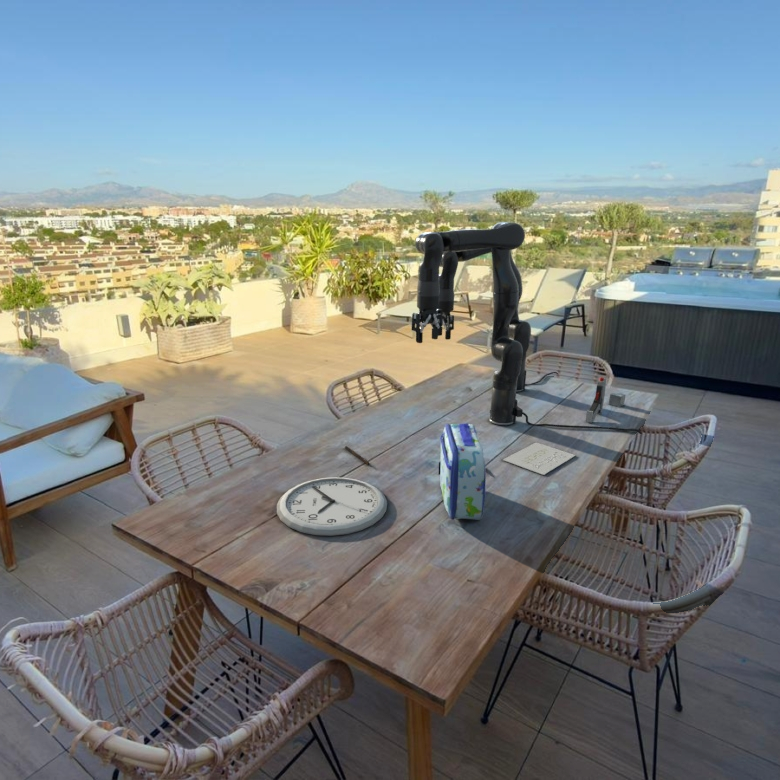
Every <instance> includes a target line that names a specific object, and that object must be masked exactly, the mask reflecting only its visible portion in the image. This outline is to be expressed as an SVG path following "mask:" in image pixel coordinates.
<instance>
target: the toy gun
mask: <svg viewBox="0 0 780 780" xmlns="http://www.w3.org/2000/svg"><path fill="white" fill-rule="evenodd" d="M606 383H607V378H606V377H604V376H599V377H598V380H597V384H596V387H595V397H594V399H593V400H592V403H591V405H590V407H589V409H588V410H586V414H585V422H586V423H590V424H592V423H593V422H594V421H595V419H596V417H597V416H598V415H602V412H603V407H604V401H605V395H606V385H607V384H606Z"/></svg>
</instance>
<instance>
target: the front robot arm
mask: <svg viewBox="0 0 780 780" xmlns="http://www.w3.org/2000/svg"><path fill="white" fill-rule="evenodd" d="M525 238H526V231H525V229H524V227H523V226H522V225H521V224H519V223H517V222H509V221H508V222H505V221H504V222H502V221H501V222H497V223H496V224H494V226H492V228H488V229H487V228H486V229H485V228H484V229H482V228H481V229H471V228H469V229H468V228H467V229H456V230H455V229H454V230H448V231H427V232H422V233H420V234H419V235H418V236H417V237H416V239H415V241H414V247H415V249H416V250H417V252H419V253H420V254H422V255H423V261H422V262H420V263H419V265H418V271H417V272H418V273H417V287H416V307H417V309H418V312H413V313H412V315H411V331H413V332H415V342H416V343H417V344H422V343H423V342H424V341H423V340H424V339H423V337H424V336H423V334H424V329H425V328H427V326H428V325H430V326H431V339H432V340H438V338H439V336H438V329H439V327H440V326H441V327H443V326H442V325H443V310H442V309H437V308H439V289H440V287H439V274H440V264H441V260H442V256H443V252H459V251H468V250H475V249H483V248H491V252H490V253H491V260H492V261H491V262H492V333H491V344H490V352H491V353H490V354H491V356H492V358H493V359H494V360H495V361H498V362H501V367H500V369H497V370H495V371H494V372H493V374H492V388H491V399H490V409H489V414H490V415H489V422H490V423H491V424H494V425H497V426H511V425H513V424H516V423H517V418H521V417H522V418H523V416H524V418H525V422H526V424H527V425H529V426H534V427H554V428H555V427H556V428H568V429H569V428H572V429H596V430H610V431H611V430H613V431H622V432H637V433H638V434H640V435H643V433H642V431H641V430H639V429H637V428H621V427H610V426H597V425H596V426H594V425H593V426H592V425H571V424H570V425H567V424H551V423H531V422H530V421H529V416H528V414H527V413H525V412H524V410H523V409H522V408H521V407H520V406H518V399H517V392H516V389H517V379H518V376H519V374H520V370H521V363H522V357H523V348H522V345H521V344H520V343H519V342H518V341H515V340H514V339H512V338H509V325H510V321H511V319H512V317H513V315H514V313H515V311H516V309H517V306H518V307H519V304H518V293H519V289H518V283H517V280H516V277H515V274H514V272H513V270H512V267H511V263H510V250H511V251H512V250H516V249H518V248H520V247H521V246H522V245H523V244H524V241H525ZM438 319H439V320H440V322H438Z"/></svg>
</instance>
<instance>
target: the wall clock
mask: <svg viewBox="0 0 780 780" xmlns="http://www.w3.org/2000/svg"><path fill="white" fill-rule="evenodd" d="M387 509H388V500H387V498H386V496H385V494H384V493H383V492H382V491H381V490H380V489H379V488H377V487H376V486H374V485H372V484H371V483H369V482H365V481H362V480H359V479H355V478H349V477H338V476H337V477H335V476H333V477H332V476H331V477H322V478H317V479H312V480H307V481H305V482H302V483H299V484H297V485H295V486H293V487H292V488H290V489H288V490H287V491H286V492H285V493H284V494H283V495H281V496H280V498H279V499H278V502H277V503H276V515H277V517H278V518H279V520H280V521H281V522H282V523H283V524H285V525H286V526H287V527H288V528H290V529H293V530H295V531H297V532H299V533H303V534H308V535H312V536H327V537H328V536H329V537H331V536H332V537H333V536H342V535H350V534H352V533H356V532H361V531H363V530H366V529H368V528H369V527H372V526H373V525H375V524H376V523H378V522H379V521H380V520H381V519H382V518H383V517H384V516H385V514H386V512H387Z"/></svg>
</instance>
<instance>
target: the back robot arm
mask: <svg viewBox="0 0 780 780" xmlns="http://www.w3.org/2000/svg"><path fill="white" fill-rule="evenodd" d="M490 253H491V248H483V249H475V250H468V251H459V252H443V256H442V260H441V264H440V267H441V268H442V270H441V273H439V287H440V289H439V308H437V309H442V310H443V325H442V326H440V327H439V329H438V337H439V336H443V327H444V330H445V333H444V339H445V340H447V341H448V340H451V339H452V331H454V330H455V315H453V314H451V312H453V311H454V309H455V308H454V307H455V277H456V274H457V270H458V266H459V263H461V262H462V263H463V262H467V261H471V260H473V259H475V258H478V257H481V256H484V255H487V254H490ZM510 263H511V267H512V270H513V272H514V274H515V277H516V280H517V283H518V289H519V293H518V306H517V309H516V311H515V313H514V315H513V317H512V319H511V321H510V325H509V339H512V340H515V341H518V342H519V343H520V344H521V345H522V348H523V357H522V363H521V370H520V374H519V376H518V379H517V389H516V393H519V392H523V391H525V389H526V386H533V385H536V384H538V383H540V382H542V381H543V380H544V379H545V378H546V377H547V376H550V375H553V374H556V375H559V373H558V372H557V371H550V372H549V373H546V374H544V375H543V376H542V377H541V378H540V379H539V380H538V381H534V382H532V383H528V384H527V383H526V380H527V369H526V362H527V352H528V350H529V348H530V342H531V333H532V327H531V324H530V323H529V322H528V321H526V320H522V319H520V317H519V308H518V307H519V304H520V300H521V298H522V295H523V279H522V275H521V273H520V270H519V269H518V266H517V265H516V263H515V262H514V259H513V256H512V250H510ZM440 267H439V268H440ZM438 322H440V320H439V319H438Z"/></svg>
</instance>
